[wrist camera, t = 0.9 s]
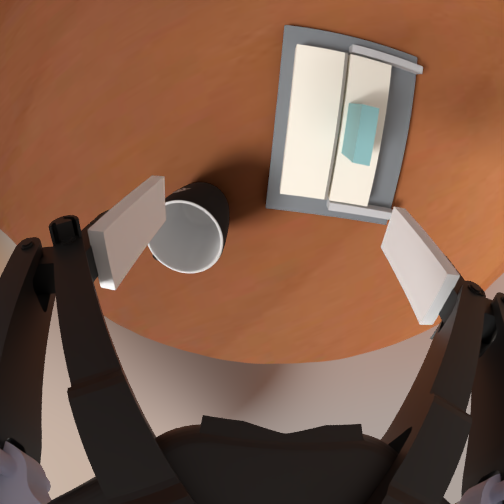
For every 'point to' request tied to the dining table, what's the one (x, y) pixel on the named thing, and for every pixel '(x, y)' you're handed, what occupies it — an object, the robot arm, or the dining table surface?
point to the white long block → (360, 130)
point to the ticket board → (389, 130)
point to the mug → (192, 229)
